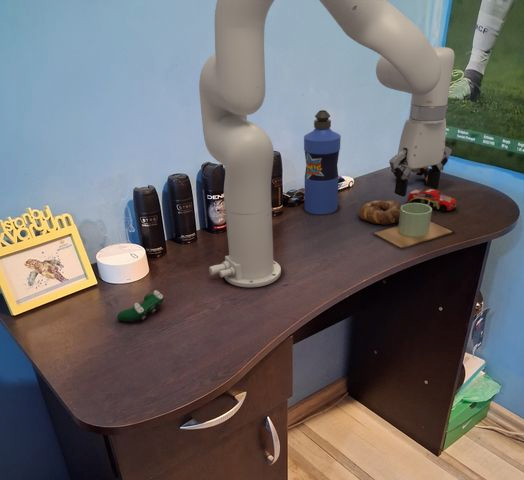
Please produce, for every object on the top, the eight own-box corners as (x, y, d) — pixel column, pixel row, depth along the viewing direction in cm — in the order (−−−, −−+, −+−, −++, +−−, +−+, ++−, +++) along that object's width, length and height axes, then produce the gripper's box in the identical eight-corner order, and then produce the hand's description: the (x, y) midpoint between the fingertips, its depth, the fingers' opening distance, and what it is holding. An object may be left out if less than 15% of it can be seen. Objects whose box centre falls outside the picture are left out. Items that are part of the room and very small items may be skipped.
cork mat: (400, 248, 126) (401, 247, 126) (374, 234, 134) (374, 232, 133) (452, 232, 132) (452, 231, 132) (423, 219, 139) (423, 218, 139)
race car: (459, 207, 145) (461, 193, 143) (450, 214, 142) (453, 199, 139) (414, 197, 152) (416, 183, 150) (404, 203, 149) (406, 189, 147)
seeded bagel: (357, 225, 138) (358, 211, 136) (358, 209, 147) (359, 196, 145) (406, 226, 136) (407, 212, 134) (404, 210, 145) (405, 197, 143)
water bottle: (318, 199, 155) (320, 105, 140) (344, 206, 149) (349, 109, 135) (296, 209, 149) (296, 112, 135) (323, 217, 144) (325, 117, 129)
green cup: (411, 240, 129) (414, 216, 125) (391, 230, 134) (394, 207, 131) (435, 233, 131) (438, 209, 128) (414, 223, 137) (417, 200, 133)
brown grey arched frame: (427, 190, 158) (416, 166, 154) (399, 199, 165) (387, 176, 161) (440, 168, 164) (429, 144, 160) (412, 177, 171) (401, 154, 167)
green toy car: (126, 332, 106) (139, 319, 101) (114, 317, 105) (126, 303, 101) (158, 310, 112) (171, 297, 108) (146, 295, 112) (158, 282, 107)
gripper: (444, 105, 123) (432, 180, 133) (384, 114, 116) (376, 193, 126) (470, 111, 117) (455, 189, 127) (408, 121, 111) (397, 203, 121)
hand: (416, 191), depth 127 cm, fingers open, 9 cm apart
